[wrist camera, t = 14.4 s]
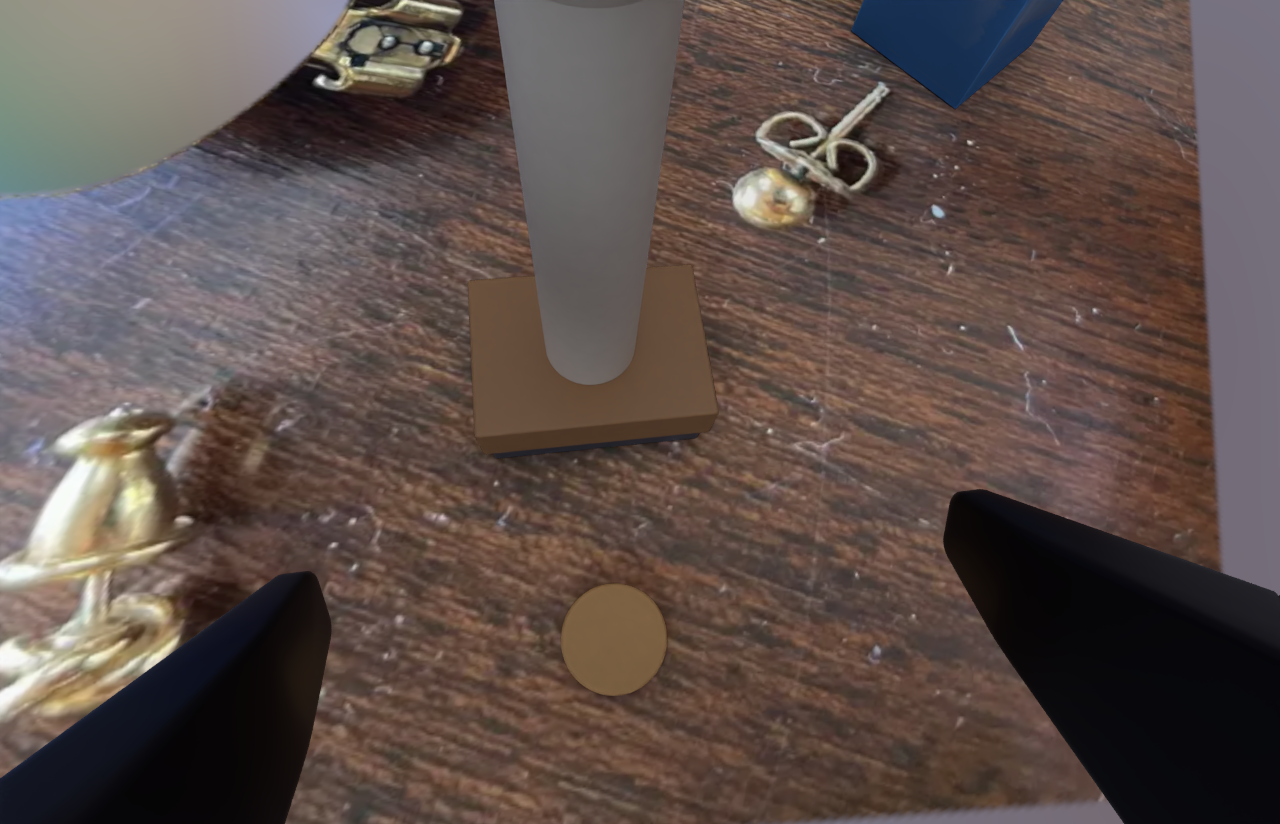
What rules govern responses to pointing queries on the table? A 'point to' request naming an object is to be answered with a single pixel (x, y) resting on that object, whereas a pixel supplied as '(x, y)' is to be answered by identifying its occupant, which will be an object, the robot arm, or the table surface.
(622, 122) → the stamp
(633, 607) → the disc
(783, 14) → the table surface
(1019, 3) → the perfume bottle
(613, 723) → the table surface
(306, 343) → the table surface
